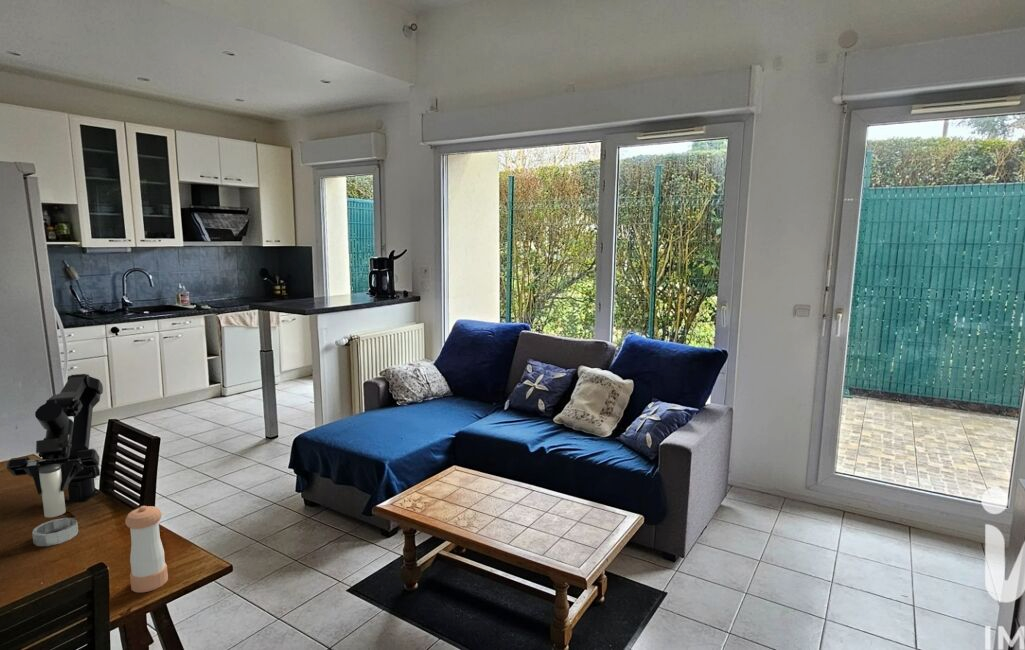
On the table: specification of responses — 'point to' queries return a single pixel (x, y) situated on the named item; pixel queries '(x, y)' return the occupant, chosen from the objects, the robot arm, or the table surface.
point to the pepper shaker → (146, 550)
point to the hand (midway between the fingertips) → (50, 492)
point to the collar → (67, 532)
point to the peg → (52, 490)
